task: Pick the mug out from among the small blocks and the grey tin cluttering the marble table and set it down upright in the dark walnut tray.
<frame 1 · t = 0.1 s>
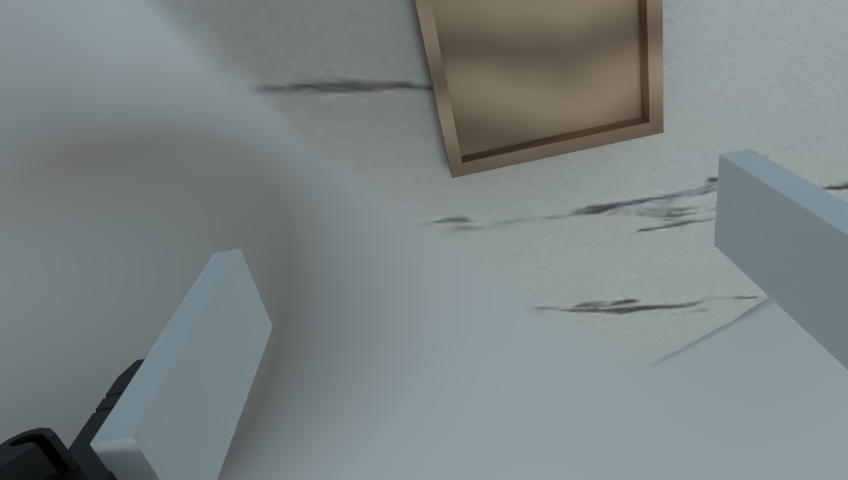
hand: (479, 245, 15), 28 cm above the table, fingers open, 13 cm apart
tray: (536, 41, 39), on the table
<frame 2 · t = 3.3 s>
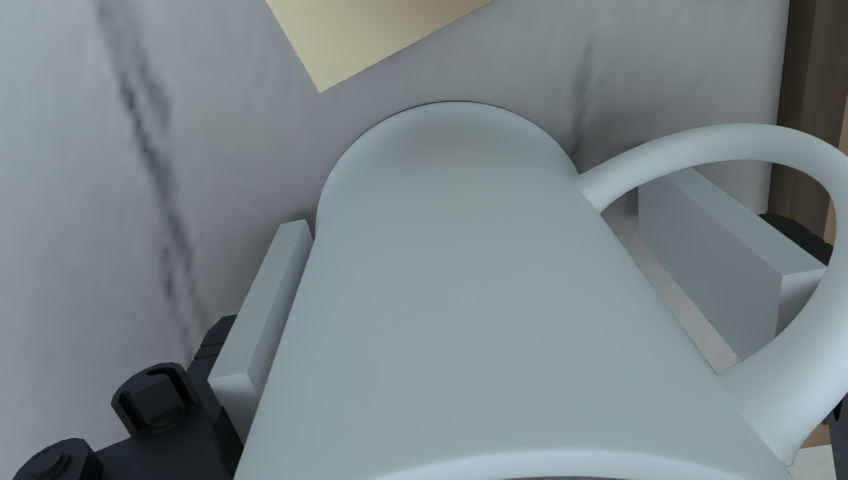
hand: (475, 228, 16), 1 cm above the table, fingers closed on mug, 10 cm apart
mug: (493, 203, 17), on the table, touching gripper
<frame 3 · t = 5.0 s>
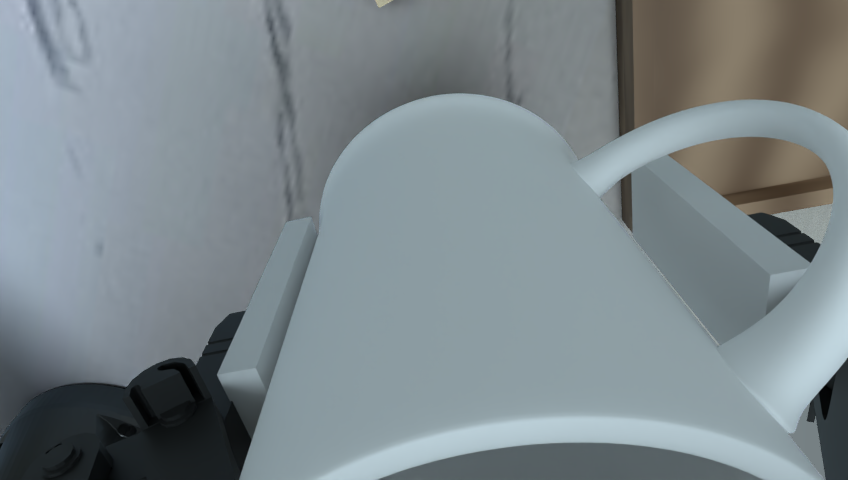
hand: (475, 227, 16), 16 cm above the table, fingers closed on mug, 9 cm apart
tray: (765, 65, 30), on the table
mug: (495, 194, 17), point 15 cm above the table, touching gripper
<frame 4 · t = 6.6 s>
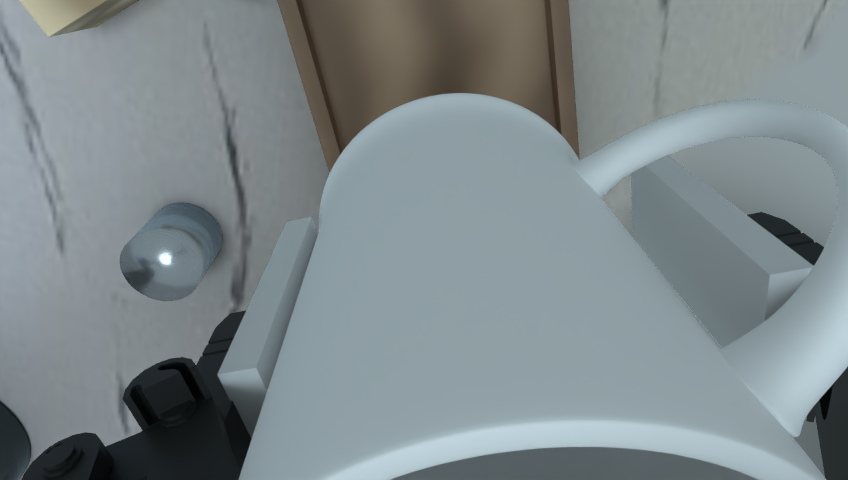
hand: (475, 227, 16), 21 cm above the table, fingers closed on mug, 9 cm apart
tray: (438, 81, 35), on the table
mug: (495, 194, 17), point 20 cm above the table, touching gripper
grey tin: (187, 233, 39), on the table
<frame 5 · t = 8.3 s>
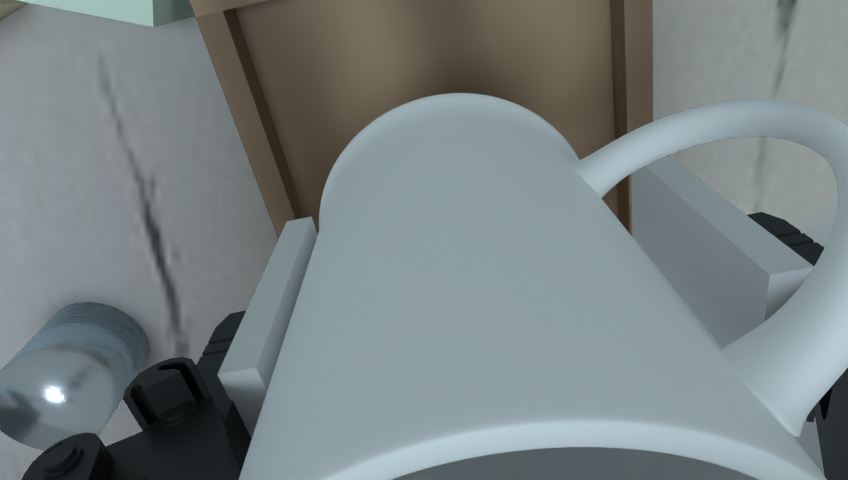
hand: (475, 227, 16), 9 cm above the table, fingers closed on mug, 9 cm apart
tray: (448, 138, 24), on the table
mug: (496, 194, 17), point 8 cm above the table, touching gripper
grey tin: (100, 341, 28), on the table
when the fingers open (4 cm above the table, at t = 9.7 s): mug drops 2 cm, resting on tray.
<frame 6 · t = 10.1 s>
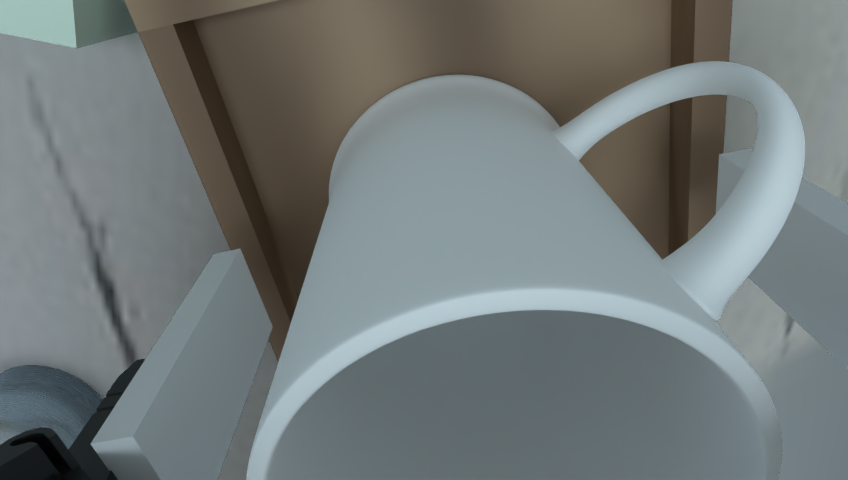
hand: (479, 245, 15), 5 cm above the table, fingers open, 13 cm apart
tray: (462, 177, 19), on the table
mug: (489, 167, 18), point 1 cm above the table, touching tray
grey tin: (49, 408, 24), on the table
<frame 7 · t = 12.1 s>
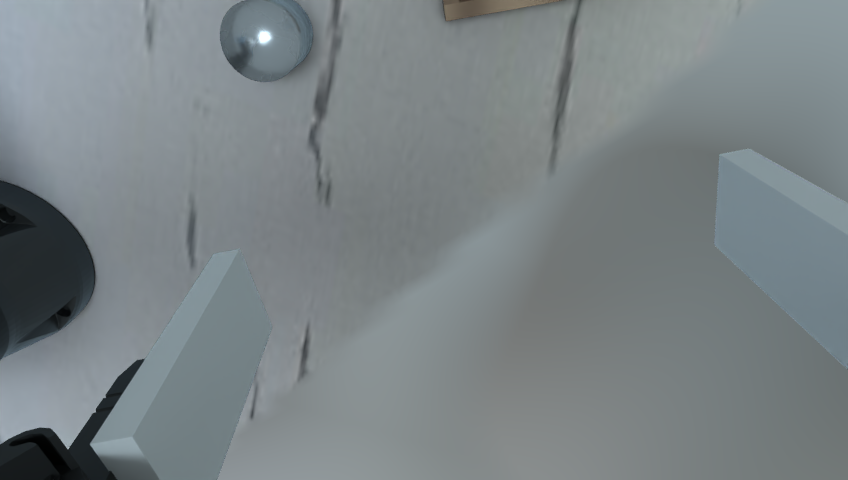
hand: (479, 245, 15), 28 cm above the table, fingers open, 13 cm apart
grey tin: (278, 32, 39), on the table
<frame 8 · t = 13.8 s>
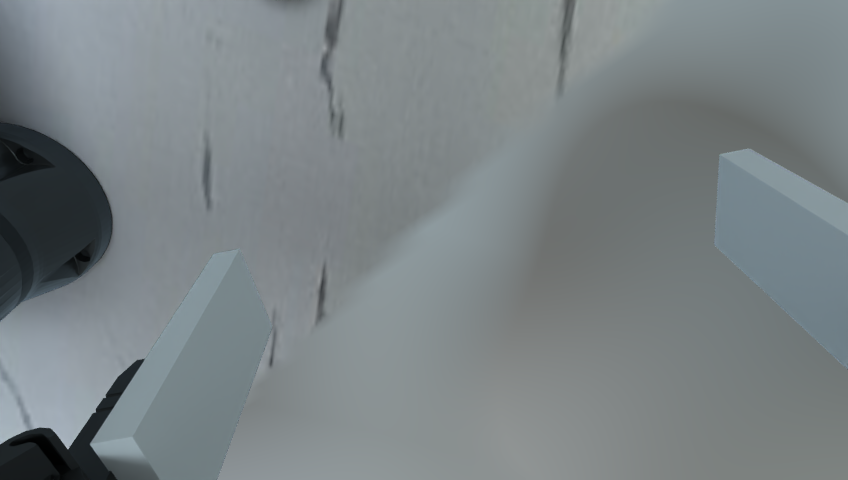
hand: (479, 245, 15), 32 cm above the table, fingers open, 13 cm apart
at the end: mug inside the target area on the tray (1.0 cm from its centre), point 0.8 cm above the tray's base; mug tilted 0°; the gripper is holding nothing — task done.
